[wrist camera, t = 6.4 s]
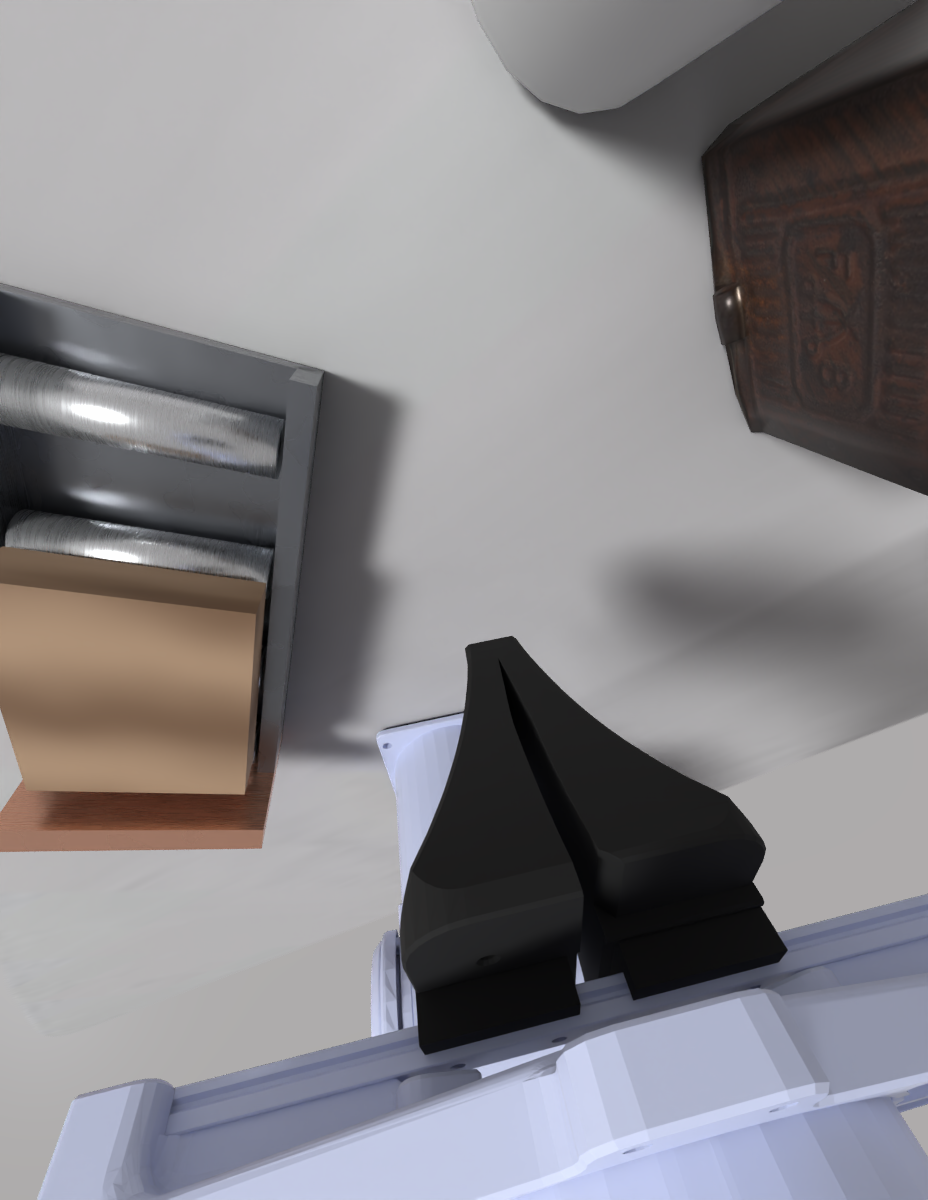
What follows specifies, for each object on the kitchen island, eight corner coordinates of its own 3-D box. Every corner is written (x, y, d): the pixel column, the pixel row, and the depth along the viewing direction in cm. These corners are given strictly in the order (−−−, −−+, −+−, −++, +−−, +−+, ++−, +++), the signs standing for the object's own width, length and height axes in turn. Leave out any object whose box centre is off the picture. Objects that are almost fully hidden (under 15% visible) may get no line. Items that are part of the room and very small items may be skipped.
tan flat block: (2, 546, 15) (-42, 578, 14) (266, 582, 18) (255, 614, 16) (53, 749, 20) (26, 790, 19) (253, 757, 23) (244, 794, 21)
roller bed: (-28, 275, 14) (-243, 274, 9) (324, 370, 17) (305, 408, 12) (72, 734, 24) (-4, 851, 19) (280, 744, 27) (261, 848, 22)
